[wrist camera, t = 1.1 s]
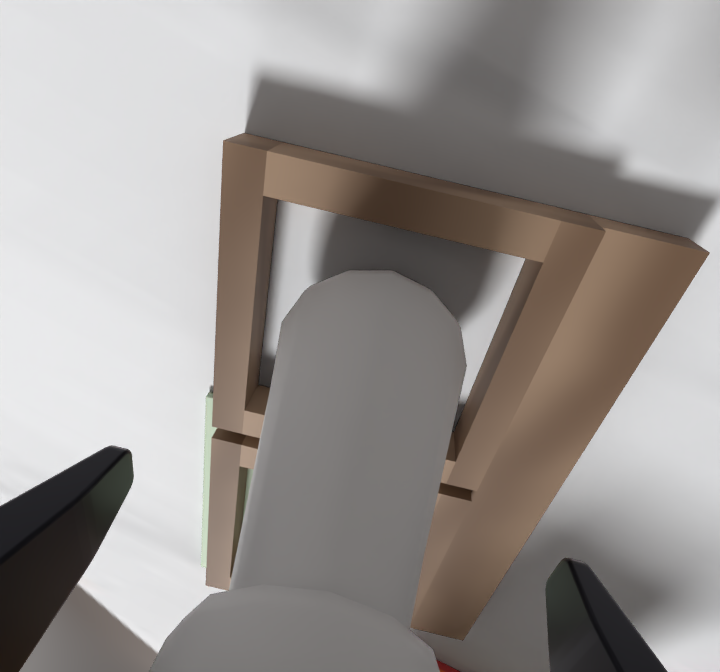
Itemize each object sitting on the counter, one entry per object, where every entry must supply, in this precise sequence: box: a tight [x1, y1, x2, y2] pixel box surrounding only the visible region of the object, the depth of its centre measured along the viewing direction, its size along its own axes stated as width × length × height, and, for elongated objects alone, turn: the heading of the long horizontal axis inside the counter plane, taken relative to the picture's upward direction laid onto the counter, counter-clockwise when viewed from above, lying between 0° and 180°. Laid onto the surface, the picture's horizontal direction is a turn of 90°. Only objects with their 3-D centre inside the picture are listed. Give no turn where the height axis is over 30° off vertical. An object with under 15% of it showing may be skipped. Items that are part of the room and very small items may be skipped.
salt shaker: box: [149, 270, 467, 672], centre depth 11 cm, size 6×6×13 cm
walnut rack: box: [206, 133, 709, 641], centre depth 18 cm, size 13×21×2 cm, turn 169°
